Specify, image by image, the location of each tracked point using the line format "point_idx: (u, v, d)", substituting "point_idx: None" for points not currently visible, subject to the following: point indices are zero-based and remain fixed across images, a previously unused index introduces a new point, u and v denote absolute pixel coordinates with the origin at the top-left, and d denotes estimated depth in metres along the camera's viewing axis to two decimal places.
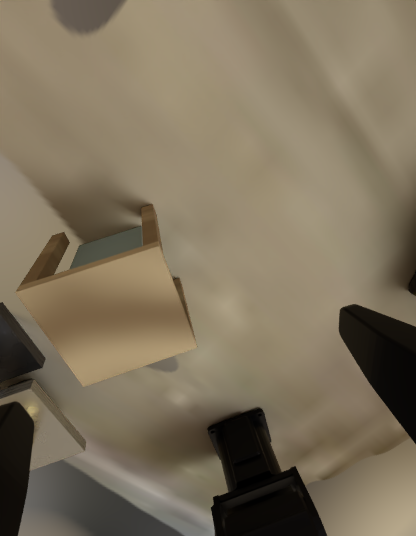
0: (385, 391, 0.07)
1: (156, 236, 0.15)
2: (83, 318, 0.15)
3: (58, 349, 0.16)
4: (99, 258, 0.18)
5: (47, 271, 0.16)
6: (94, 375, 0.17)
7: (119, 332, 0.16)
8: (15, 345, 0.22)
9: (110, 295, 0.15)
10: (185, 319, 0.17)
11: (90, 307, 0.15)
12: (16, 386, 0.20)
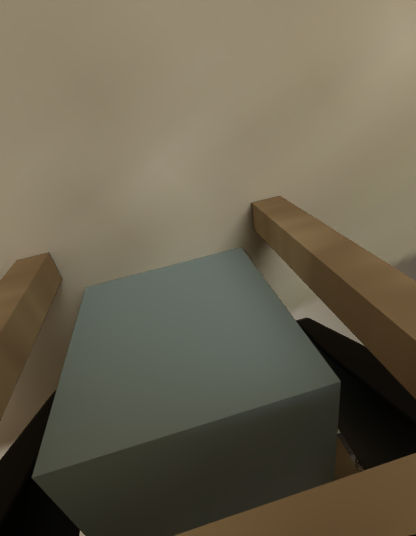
0: None
1: None
2: None
3: None
4: None
5: None
6: None
7: None
8: None
9: None
10: None
11: None
12: None
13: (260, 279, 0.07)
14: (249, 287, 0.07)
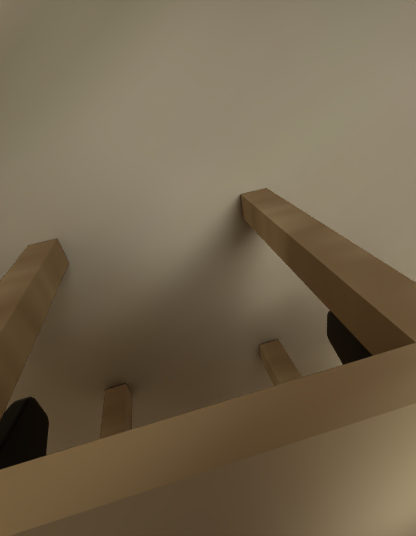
0: None
1: None
2: None
3: None
4: None
5: None
6: None
7: None
8: None
9: None
10: (319, 437, 0.03)
11: None
12: None
13: None
14: None
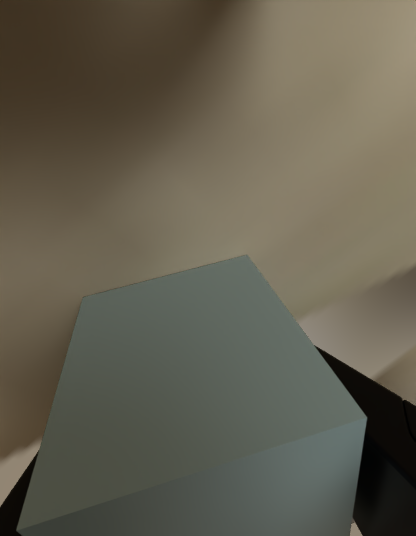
0: None
1: None
2: None
3: None
4: None
5: None
6: None
7: None
8: None
9: None
10: None
11: None
12: None
13: (270, 292, 0.07)
14: (258, 301, 0.06)
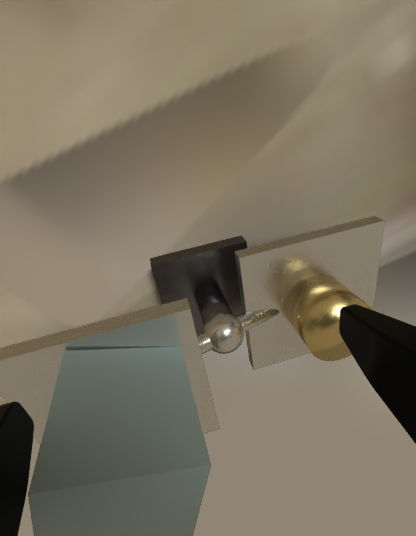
0: (385, 391, 0.07)
1: None
2: None
3: None
4: None
5: None
6: None
7: None
8: (204, 260, 0.19)
9: None
10: None
11: None
12: (237, 272, 0.16)
13: (186, 380, 0.11)
14: (178, 385, 0.11)
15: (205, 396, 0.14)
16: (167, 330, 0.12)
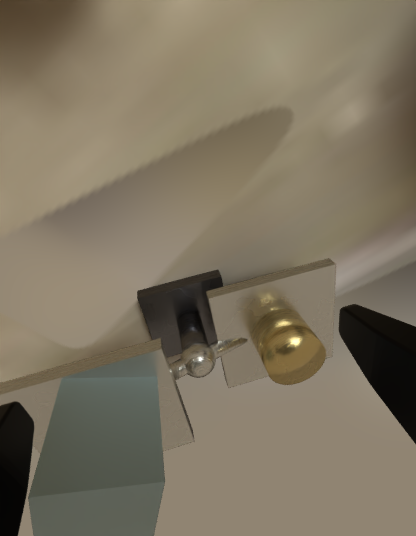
0: (385, 391, 0.07)
1: None
2: None
3: None
4: None
5: None
6: None
7: None
8: (184, 292, 0.21)
9: None
10: None
11: None
12: (209, 307, 0.19)
13: (157, 408, 0.14)
14: (150, 413, 0.13)
15: (179, 415, 0.17)
16: (143, 365, 0.15)
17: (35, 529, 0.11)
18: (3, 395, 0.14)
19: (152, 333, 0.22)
